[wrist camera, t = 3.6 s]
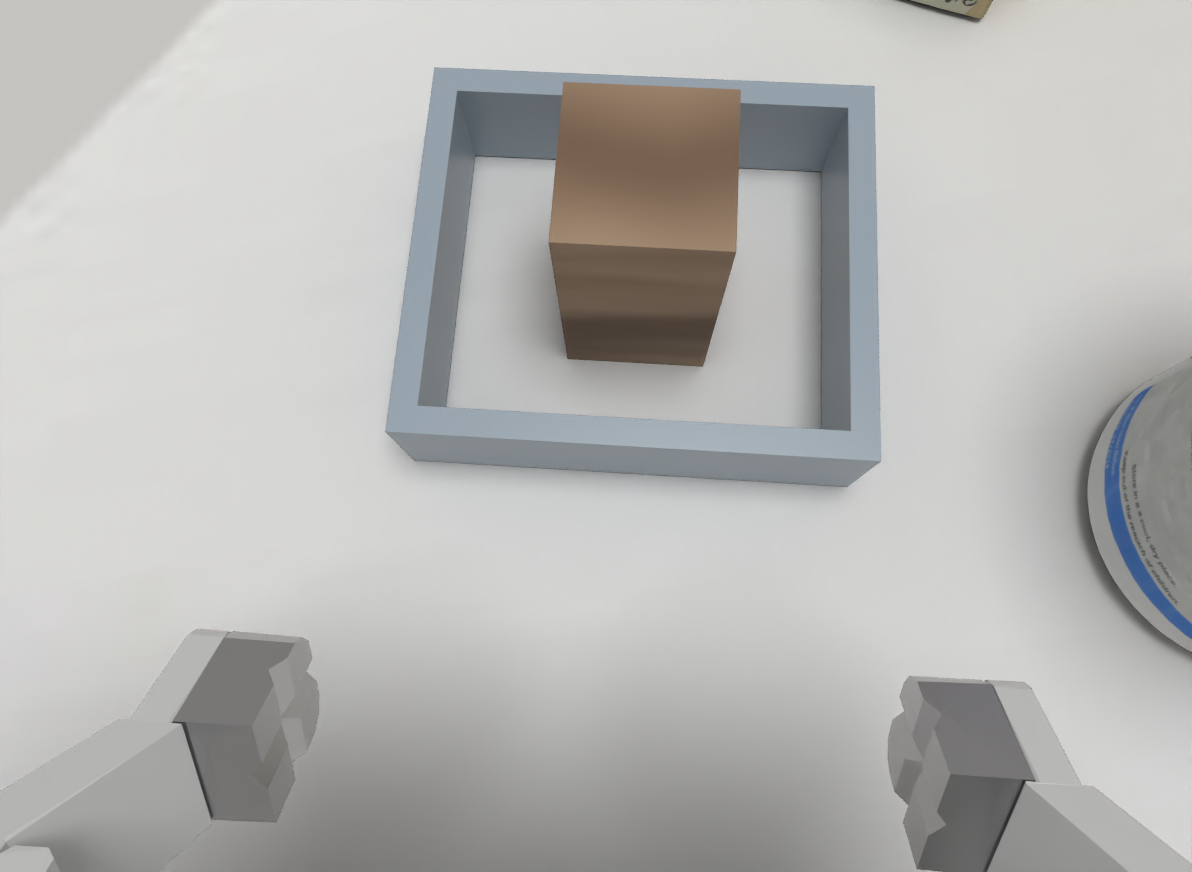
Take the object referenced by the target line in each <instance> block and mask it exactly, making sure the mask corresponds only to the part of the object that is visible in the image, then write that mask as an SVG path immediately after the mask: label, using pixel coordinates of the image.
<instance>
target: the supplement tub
mask: <svg viewBox="0 0 1192 872" xmlns="http://www.w3.org/2000/svg"><path fill="white" fill-rule="evenodd" d="M1087 492H1088V508H1089V518H1090V522H1091V526H1092V530H1093V534H1094V538H1095V541H1096V544H1097V546H1098V549H1099V552H1100V554H1101V556H1102V558H1103V560H1104V563H1105V565H1106V567H1107V569H1108V571H1109V572H1110V574H1111V576H1112V578H1113V579H1114V581H1115V582H1116V584H1117V585H1118V587H1119V588H1120V589H1121V591H1122V592H1123V594H1124V595H1125V597H1126V598H1127V599H1128V600H1129V601H1130V602H1131V604H1132V605H1133V606H1134V607H1135V608H1136V609H1137V610H1138V611H1139V612H1140V613H1141V614H1142V616H1144V617H1145V618H1146V619H1147V620H1148V621H1149V622H1150V623H1151V624H1152V625H1153V626H1154V627H1155V628H1157V629H1158V630H1159V631H1160V632H1162V633H1163V634H1164V635H1165V636H1167V637H1168V638H1170V639H1171V640H1173V641H1174V642H1176V643H1177V644H1179V645H1180V646H1182V647H1183V648H1185V649H1187V650H1189V651H1190V652H1192V357H1190V358H1189V359H1187V360H1185V361H1183V362H1181V363H1179V364H1177V365H1176V366H1174V367H1172V368H1170V369H1168V370H1166V371H1164V372H1163V373H1161V374H1159V375H1157V376H1155V377H1154V378H1152V379H1151V380H1149V381H1147V382H1146V383H1144V384H1143V385H1142V386H1140V387H1139V388H1138V389H1136V390H1135V391H1134V392H1133V393H1132V394H1131V395H1130V396H1129V397H1128V398H1127V399H1126V400H1124V401H1123V403H1122V404H1121V405H1120V406H1119V407H1118V408H1117V410H1116V411H1115V412H1114V414H1113V415H1112V417H1111V419H1110V420H1109V422H1108V423H1107V425H1106V427H1105V429H1104V431H1103V432H1102V434H1101V437H1100V439H1099V441H1098V444H1097V446H1096V449H1095V451H1094V454H1093V458H1092V461H1091V465H1090V471H1089V478H1088V490H1087Z"/></svg>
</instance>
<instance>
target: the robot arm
mask: <svg viewBox="0 0 1192 872" xmlns="http://www.w3.org/2000/svg"><path fill="white" fill-rule="evenodd" d="M311 660H312V654H311V650H310V646H309V641H308V640H306V639H304V638H302V637H292V636H280V635H269V634H258V633H247V632H236V631H233V632H227V631H216V630H205V629H196V630H195V631H193V632H192V633H190V634H189V635H188V636H187V637H186V638H185V639H184V641H183V642H182V644H181V645H180V647H179V648H178V650H177V651H176V653H175V654H174V656H173V657H172V658H171V660H170V661H169V663H168V664H167V666H166V667H165V669H164V670H163V672H162V673H161V675H160V676H159V678H158V679H157V680H156V682H155V683H154V685H153V686H152V688H151V689H150V691H149V692H148V694H147V695H146V697H145V698H144V700H143V701H142V703H141V704H140V705H139V707H138V708H137V710H136V711H135V713H134V714H133V716H132V717H131V719H130V720H120V719H119V720H117V721H115V722H114V723H112V724H110V725H109V726H107V727H105V728H104V729H102V730H101V731H99V732H97V733H96V734H94V735H92V736H91V737H89V738H87V739H86V740H84V741H82V742H81V743H79V744H77V745H76V746H74V747H73V748H71V749H69V750H68V751H66V752H64V753H63V754H61V755H59V756H58V757H56V758H54V759H53V760H51V761H49V762H48V763H46V764H45V765H43V766H41V767H40V768H38V769H36V770H35V771H33V772H31V773H30V774H28V775H26V776H25V777H23V778H22V779H20V780H18V781H17V782H15V783H13V784H12V785H10V786H8V787H7V788H5V789H3V790H2V791H0V872H159V871H160V870H161V869H162V868H163V867H165V866H166V865H167V864H168V863H169V862H170V861H171V860H172V859H173V858H175V857H176V856H177V855H178V854H179V853H180V852H181V851H182V850H183V849H184V848H186V847H187V846H188V845H189V844H190V843H191V842H192V841H193V840H194V839H196V838H197V837H198V836H199V835H200V834H201V833H202V832H203V831H204V830H206V829H207V828H208V827H209V826H210V825H211V824H212V820H234V821H257V822H277V819H278V817H279V815H280V813H281V810H282V808H283V806H284V803H285V801H286V799H287V797H288V794H289V792H290V790H291V787H292V785H293V783H294V781H295V776H294V771H293V766H292V762H293V761H295V760H296V759H297V758H299V757H300V756H301V755H303V754H304V753H305V752H306V751H307V750H308V748H309V745H310V743H311V740H312V738H313V735H314V733H315V728H316V724H317V719H318V714H319V691H318V685H317V681H316V680H315V679H314V678H312V677H311V676H310V675H309V674H308V673H307V672H306V671H307V669H308V667H309V664H310V662H311ZM900 699H901V702H902V706H903V709H904V712H903V713H901V714H900V715H899V716H897V717H896V718H895V719H893V721H892V725H891V729H890V733H889V737H888V764H889V771H890V777H891V780H892V784H893V788H894V792H895V793H896V794H897V795H898V796H899V797H900V798H901V799H903V800H904V801H905V802H906V803H907V804H908V808H907V811H906V814H905V817H904V821H903V824H904V827H905V830H906V834H907V837H908V841H909V844H910V848H911V851H912V854H913V858H914V861H915V865H916V868H917V869H922V870H932V871H942V872H1192V864H1191V863H1190V862H1189V861H1188V860H1186V859H1185V858H1184V857H1182V856H1181V855H1180V854H1179V853H1177V852H1176V851H1175V850H1174V849H1172V848H1171V847H1170V846H1169V845H1167V844H1166V843H1165V842H1164V841H1162V840H1161V839H1160V838H1158V837H1157V836H1156V835H1155V834H1153V833H1152V832H1151V831H1150V830H1148V829H1147V828H1146V827H1145V826H1143V825H1142V824H1141V823H1139V822H1138V821H1137V820H1136V819H1134V818H1133V817H1132V816H1131V815H1129V814H1128V813H1127V812H1126V811H1124V810H1123V809H1122V808H1120V807H1119V806H1118V805H1117V804H1115V803H1114V802H1113V801H1112V800H1110V799H1109V798H1108V797H1107V796H1105V795H1104V794H1103V793H1102V792H1100V791H1099V790H1098V789H1096V788H1095V787H1094V786H1085V785H1081V783H1080V781H1079V779H1078V777H1077V775H1076V773H1075V771H1074V769H1073V767H1072V765H1071V763H1070V761H1069V760H1068V758H1067V756H1066V754H1065V752H1064V750H1063V748H1062V746H1061V744H1060V742H1059V740H1058V738H1057V736H1056V734H1055V732H1054V731H1053V729H1052V727H1051V725H1050V723H1049V721H1048V719H1047V717H1046V715H1045V713H1044V711H1043V709H1042V707H1041V705H1040V703H1039V701H1038V700H1037V698H1036V696H1035V694H1034V692H1033V690H1032V688H1031V687H1030V686H1029V685H1027V684H1026V683H1025V682H1013V681H994V680H985V681H983V680H974V679H956V678H938V677H920V676H909V677H908V678H907V679H906V681H905V682H904V684H903V687H902V690H901V693H900Z"/></svg>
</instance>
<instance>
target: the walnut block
mask: <svg viewBox="0 0 1192 872" xmlns="http://www.w3.org/2000/svg"><path fill="white" fill-rule="evenodd" d="M740 104H741V90H740V89H717V88H694V87H671V86H648V85H625V84H602V83H578V82H563V91H562V102H561V113H560V124H559V135H558V146H557V157H556V168H555V179H554V190H553V201H552V212H551V223H550V234H549V247H550V253H551V259H552V265H553V271H554V278H555V284H556V290H557V296H558V302H559V308H560V314H561V321H562V327H563V333H564V339H565V345H566V351H567V357H568V359H579V360H597V361H615V362H632V363H650V364H668V365H685V366H703V364H704V361H705V357H706V354H707V351H708V347H709V344H710V340H711V337H712V333H713V330H714V326H715V323H716V320H717V316H718V313H719V309H720V306H721V302H722V299H723V295H724V292H725V289H726V285H727V282H728V278H729V275H730V271H731V268H732V264H733V261H734V258H735V254H736V241H737V207H738V173H739V138H740Z"/></svg>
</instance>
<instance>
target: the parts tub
mask: <svg viewBox="0 0 1192 872" xmlns="http://www.w3.org/2000/svg"><path fill="white" fill-rule="evenodd" d="M563 82H578V83H602V84H625V85H648V86H671V87H694V88H717V89H740V90H741V104H740V138H739V168H755V169H776V170H798V171H819V172H821V429H808V428H791V427H774V426H756V425H739V424H722V423H705V422H688V421H671V420H654V419H637V418H620V417H603V416H586V415H569V414H552V413H535V412H517V411H500V410H483V409H466V408H449V407H446V400H447V392H448V383H449V375H450V366H451V358H452V349H453V341H454V332H455V324H456V315H457V307H458V298H459V289H460V281H461V272H462V264H463V255H464V247H465V238H466V230H467V221H468V213H469V204H470V196H471V187H472V179H473V170H474V162H475V155H476V156H498V157H519V158H540V159H556V157H557V146H558V135H559V124H560V113H561V102H562V91H563ZM385 432H386V433H387V434H388V435H389V436H390V437H391V438H392V439H393V440H394V441H395V442H396V443H397V444H398V445H399V446H400V447H401V448H402V449H403V450H404V451H405V452H406V453H407V454H409V455H410V456H411V457H412V458H413V459H414V460H418V461H435V462H451V463H467V464H484V465H500V466H516V467H533V468H549V469H565V470H582V471H598V472H614V473H631V474H647V475H663V476H680V477H696V478H713V479H729V480H745V481H762V482H778V483H794V484H811V485H827V486H843V487H848V486H849V485H850V484H852V483H853V482H854V481H856V480H857V479H858V478H859V477H861V476H862V475H863V474H865V473H866V472H867V471H869V470H870V469H871V468H873V467H874V466H875V465H877V464H878V463H879V462H881V432H880V375H879V318H878V261H877V204H876V147H875V90H874V86H859V85H835V84H812V83H788V82H765V81H741V80H718V79H694V78H671V77H647V76H624V75H600V74H577V73H553V72H530V71H506V70H483V69H459V68H436V67H434V75H433V82H432V90H431V97H430V104H429V112H428V119H427V127H426V134H425V141H424V149H423V156H422V164H421V171H420V178H419V186H418V193H417V201H416V208H415V216H414V223H413V230H412V238H411V245H410V253H409V260H408V267H407V275H406V282H405V290H404V297H403V304H402V312H401V319H400V327H399V334H398V341H397V349H396V356H395V364H394V371H393V379H392V386H391V393H390V401H389V408H388V416H387V423H386V430H385Z"/></svg>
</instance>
